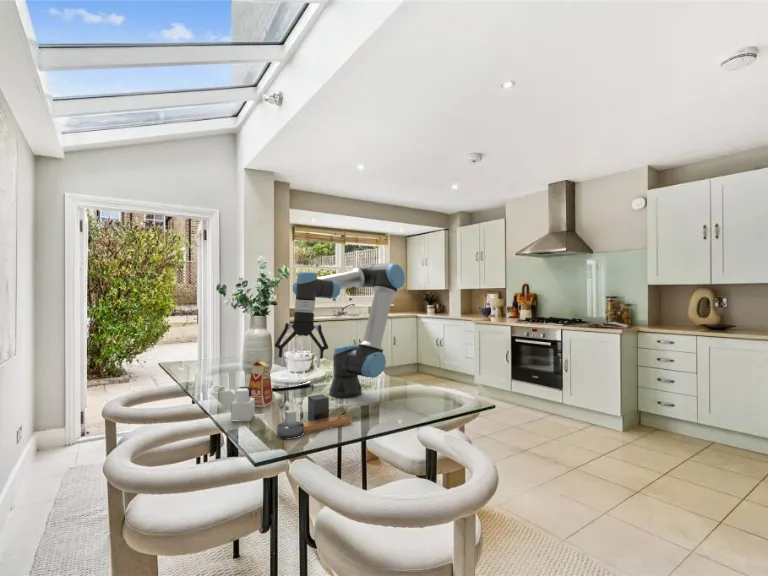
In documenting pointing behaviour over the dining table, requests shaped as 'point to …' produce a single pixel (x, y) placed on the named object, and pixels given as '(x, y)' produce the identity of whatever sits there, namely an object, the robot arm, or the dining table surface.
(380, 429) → the dining table surface
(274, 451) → the dining table surface
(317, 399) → the dark grey block
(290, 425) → the hammer
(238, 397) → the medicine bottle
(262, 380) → the milk carton
